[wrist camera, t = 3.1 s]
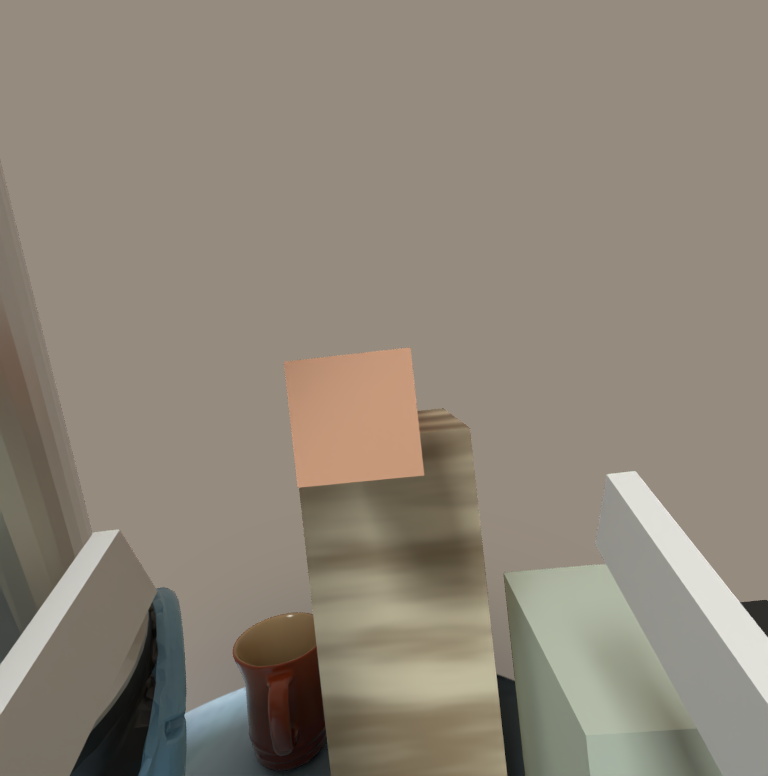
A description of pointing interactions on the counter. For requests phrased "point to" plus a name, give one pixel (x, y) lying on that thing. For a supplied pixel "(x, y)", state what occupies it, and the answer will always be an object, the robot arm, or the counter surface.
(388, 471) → the batten
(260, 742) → the mug
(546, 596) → the post low
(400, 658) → the stand
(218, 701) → the counter surface
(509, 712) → the counter surface
